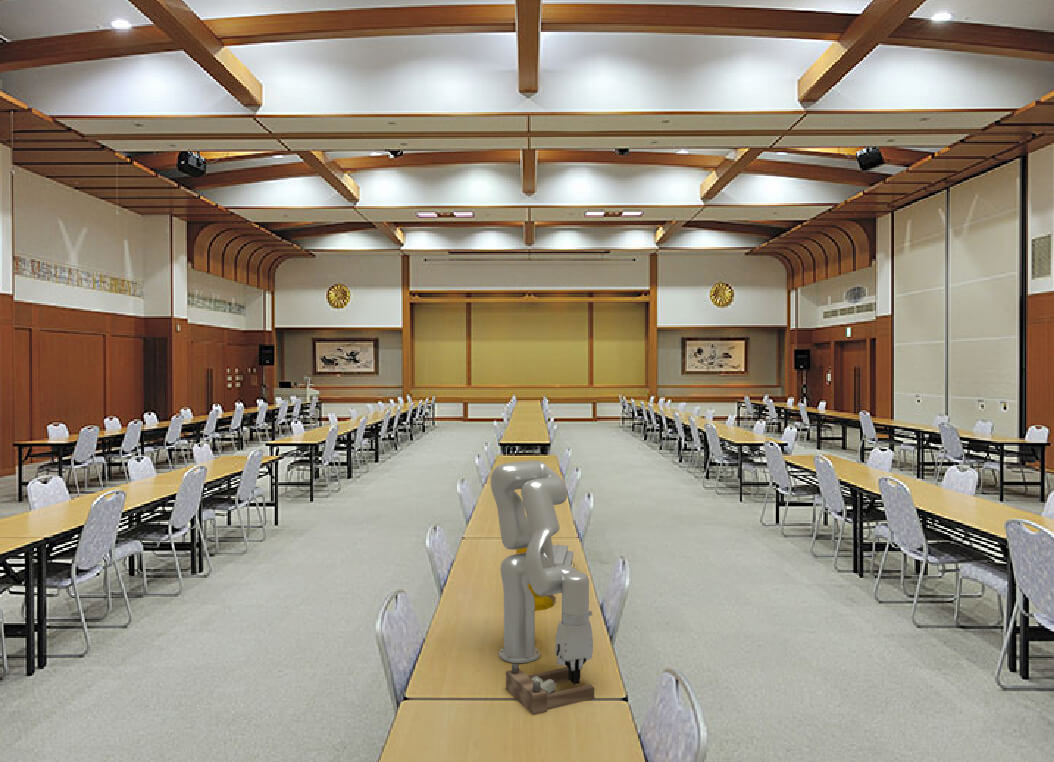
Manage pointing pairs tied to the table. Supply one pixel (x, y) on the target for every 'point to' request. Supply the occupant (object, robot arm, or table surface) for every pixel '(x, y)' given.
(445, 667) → the table surface
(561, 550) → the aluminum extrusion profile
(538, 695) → the bench jig
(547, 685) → the pipe fitting
